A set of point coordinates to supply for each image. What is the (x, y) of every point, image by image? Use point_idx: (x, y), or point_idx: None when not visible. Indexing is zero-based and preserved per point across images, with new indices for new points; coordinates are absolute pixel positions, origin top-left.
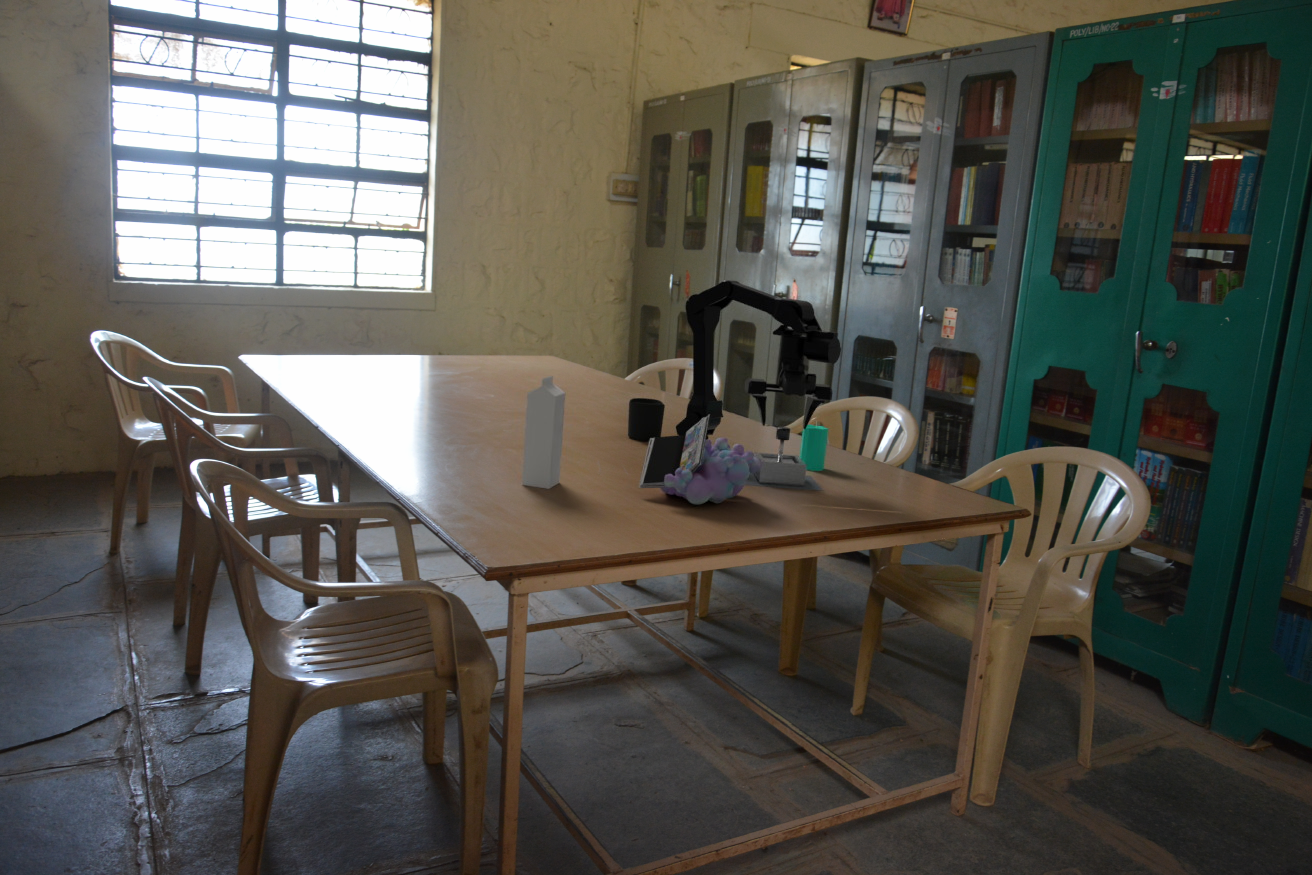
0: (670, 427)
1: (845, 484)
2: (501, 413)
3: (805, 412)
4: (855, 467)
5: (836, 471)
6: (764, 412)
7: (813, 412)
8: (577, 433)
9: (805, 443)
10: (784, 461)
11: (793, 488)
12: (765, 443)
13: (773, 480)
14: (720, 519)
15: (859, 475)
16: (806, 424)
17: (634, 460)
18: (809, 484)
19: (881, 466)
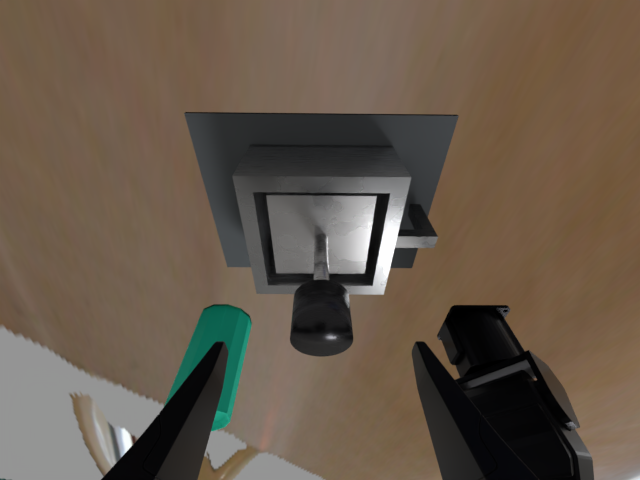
0: (414, 437)
1: (135, 224)
2: (629, 439)
3: (201, 442)
4: (140, 346)
5: (173, 317)
6: (458, 410)
7: (139, 438)
8: (588, 400)
9: (230, 367)
10: (304, 244)
11: (287, 114)
12: (294, 413)
13: (350, 150)
14: None
15: (120, 302)
16: (206, 361)
17: (616, 293)
18: (231, 182)
19: (96, 360)
